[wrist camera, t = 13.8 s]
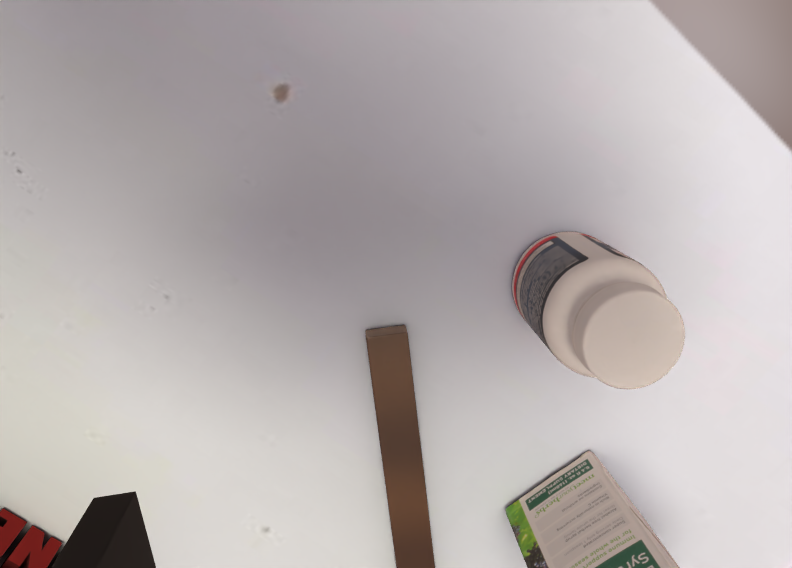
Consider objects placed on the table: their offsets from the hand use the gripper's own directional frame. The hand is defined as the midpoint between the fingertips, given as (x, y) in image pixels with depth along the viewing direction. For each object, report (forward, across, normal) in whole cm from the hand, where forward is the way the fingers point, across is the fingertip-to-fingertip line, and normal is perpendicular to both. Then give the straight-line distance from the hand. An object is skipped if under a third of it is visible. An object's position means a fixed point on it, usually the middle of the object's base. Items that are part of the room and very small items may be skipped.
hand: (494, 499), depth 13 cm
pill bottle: (+22, +8, -3) cm, 23 cm away
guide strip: (+22, -2, -16) cm, 27 cm away
